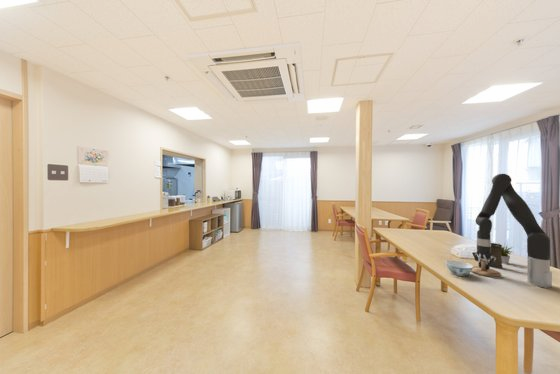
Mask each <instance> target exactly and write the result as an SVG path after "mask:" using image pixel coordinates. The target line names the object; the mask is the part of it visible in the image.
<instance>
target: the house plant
mask: <svg viewBox="0 0 560 374" xmlns="http://www.w3.org/2000/svg"><path fill="white" fill-rule="evenodd" d="M505 244H506V243H504V244H503V246H502V248H501V250H502V251H501V259H502V265H503V264H504V265H508V264H510V258H511V256H510V255H511V253H513V250H512V251H511V249H512V248H513V246H511V247H509V248H508V245H505Z"/></svg>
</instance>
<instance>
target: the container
mask: <svg viewBox="0 0 560 374" xmlns="http://www.w3.org/2000/svg"><path fill="white" fill-rule="evenodd" d="M502 247H503V245H502V244H500V243H495V242H491V255H492V256H493V257H496V260H495V262H494V263H493V264H491V265H490V268H492V269H498V270H499V269H503V263H502V259H501V251H502V250H501V248H502ZM489 259H490V261H491V257H490V258H489Z"/></svg>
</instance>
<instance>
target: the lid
mask: <svg viewBox="0 0 560 374" xmlns="http://www.w3.org/2000/svg"><path fill="white" fill-rule="evenodd" d="M472 266H473V269H472V271H471V272H473V273H476V274H479V275H484V276H489V277H499V278H501V277H500V276H501V274H502V273H501V272H500V271H498V270H496V269H494V268H490V269H489V270H486V262H485V260H484V259H483V260H481V268H480V267H479V266H478V265H477V266H474V265H472ZM473 273H472V274H473ZM476 274H475V275H476ZM479 275H478V276H479Z"/></svg>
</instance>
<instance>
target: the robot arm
mask: <svg viewBox="0 0 560 374" xmlns="http://www.w3.org/2000/svg"><path fill="white" fill-rule="evenodd" d="M491 182H492V183H491V184H492V186H491V189H490V192H489V194H488V195H487V197H486V199H485V201H484V203H483V206H482V208H481V210H480V211H479V213H478V215H477V216H476V217H475V224H476V225H477V226H478V230H477V232H476V251H475V252H471V253H472V256H473V257H474V261H476V262H477V263H478V267H480V268H481V260H484V261H485V262H486V270H489V269H491V267H490V265H491V264H493V263H494V262H495V260H496V257H493V256H492V255H491V243H492V241H491V232H492V228H493V222H492V220H491V217H492V216H494V215H495V213H496V211H497V208H498V207H499V204H500V201H501V199H502V200H503V201H504V204H505V205H506V207H507V209H508V211H509V212H510V214H511V215H512V217H513V218H514V219H515V220H516V222H518V224H520V226H521V227H522V228H523V230H524V231H525V234H526V236H527V237H526V252H527V283H529V284H531V285H534V286H536V287H540V288H545V289H548V288H552V287H553V284H552V283H553V272H552V271H551V238H550V237H549V236H548V234H547V233H546V232H545V231H544V230H543V228H541V226H540V225H539V223H538V222H537V219H536V218H535V217H536V216H535V215H534V214H533V212H532V210H531V208H530V207H529V205H528V204H527V202H526V201H525V200H524V199H523V197H521V196H520V195H519V194H518V193H517V191H516V190H515V189H514V187H513V184H512V178H511V176H510V175H509V174H507V173H498V174H496V175H494V176H493V177H492V180H491ZM490 257H491V261H490V259H489V258H490Z"/></svg>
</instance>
